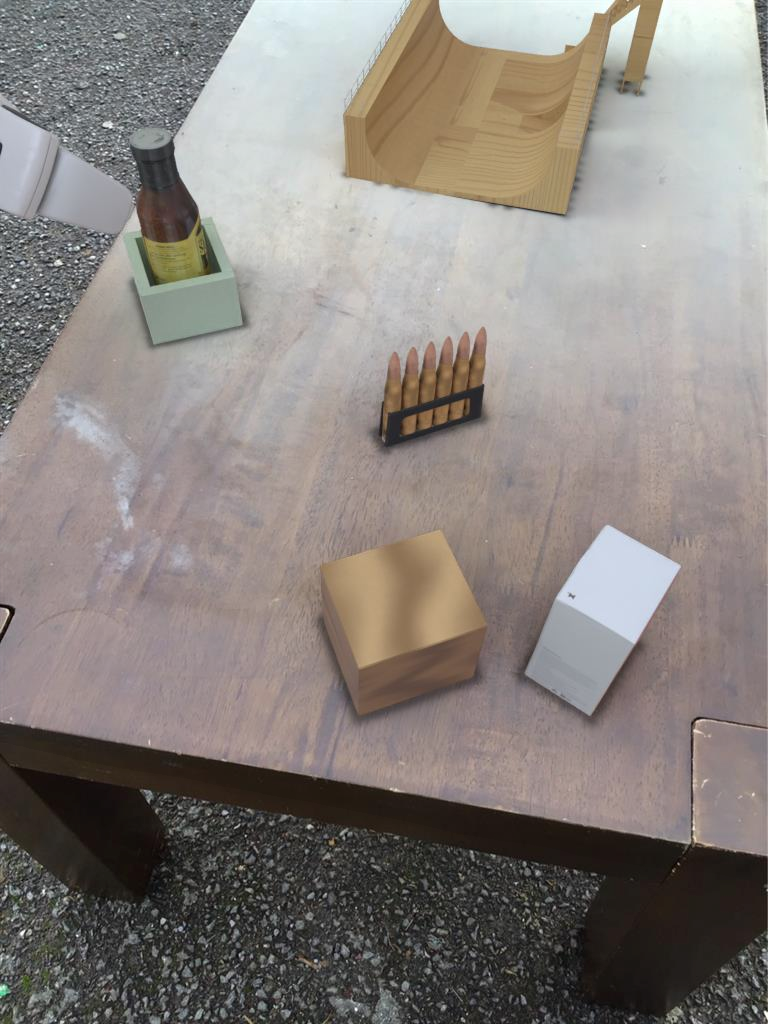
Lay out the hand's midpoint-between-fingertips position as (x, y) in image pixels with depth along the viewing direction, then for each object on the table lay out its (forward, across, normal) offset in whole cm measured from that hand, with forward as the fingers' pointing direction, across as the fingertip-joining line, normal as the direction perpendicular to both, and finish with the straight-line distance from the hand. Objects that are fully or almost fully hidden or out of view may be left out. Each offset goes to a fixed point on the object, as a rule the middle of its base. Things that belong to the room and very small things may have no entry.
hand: (88, 190), depth 73 cm
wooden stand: (+4, +44, -22) cm, 49 cm away
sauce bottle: (+19, 0, -8) cm, 21 cm away
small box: (+10, +56, -17) cm, 60 cm away
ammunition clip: (+20, +32, -7) cm, 39 cm away
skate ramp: (+59, +9, +31) cm, 67 cm away
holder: (+19, 0, -8) cm, 21 cm away
